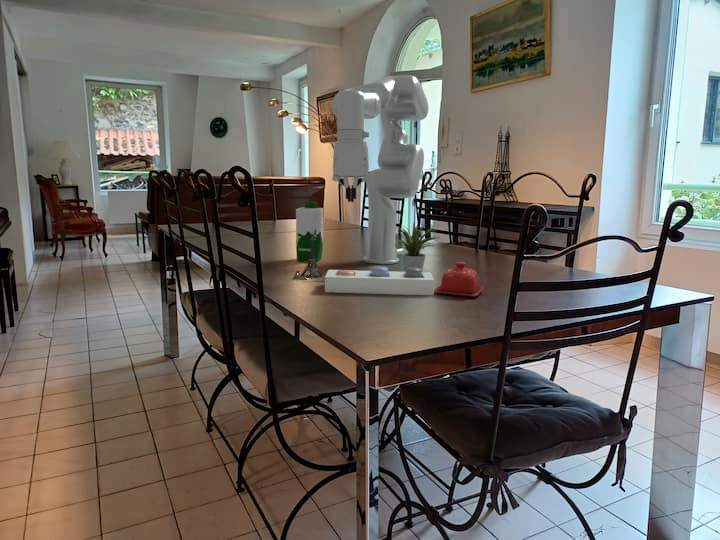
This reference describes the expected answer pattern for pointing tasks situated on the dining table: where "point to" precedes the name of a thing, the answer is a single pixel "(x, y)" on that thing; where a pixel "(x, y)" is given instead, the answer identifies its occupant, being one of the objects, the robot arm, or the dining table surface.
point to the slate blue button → (379, 271)
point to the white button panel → (379, 283)
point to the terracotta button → (345, 273)
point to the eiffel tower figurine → (309, 267)
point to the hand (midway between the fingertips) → (350, 201)
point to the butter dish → (460, 282)
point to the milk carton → (309, 231)
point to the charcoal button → (413, 272)
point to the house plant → (414, 247)
